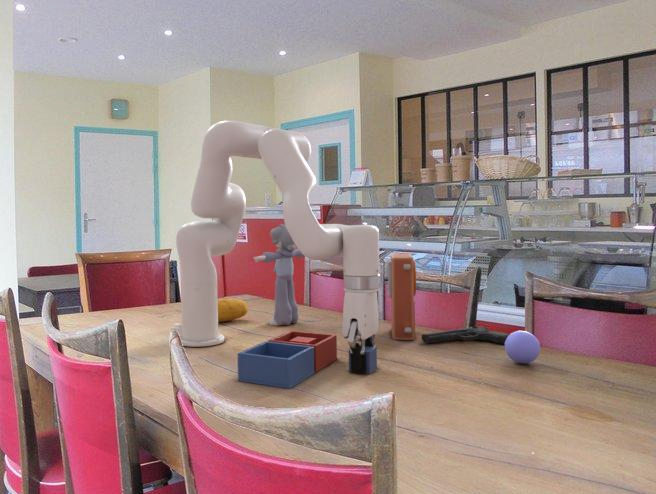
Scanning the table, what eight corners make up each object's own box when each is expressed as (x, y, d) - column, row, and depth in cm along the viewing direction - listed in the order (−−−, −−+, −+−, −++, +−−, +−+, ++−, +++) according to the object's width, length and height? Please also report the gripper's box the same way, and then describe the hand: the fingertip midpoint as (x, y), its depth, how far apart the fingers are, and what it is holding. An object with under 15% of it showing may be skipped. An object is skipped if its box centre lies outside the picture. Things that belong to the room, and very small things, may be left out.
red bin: (267, 365, 127) (267, 340, 127) (291, 353, 137) (290, 330, 137) (316, 372, 121) (315, 345, 121) (337, 359, 131) (336, 334, 131)
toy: (299, 314, 188) (297, 222, 188) (320, 316, 184) (319, 222, 183) (244, 330, 164) (242, 225, 164) (267, 334, 159) (265, 225, 159)
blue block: (348, 371, 121) (348, 349, 121) (356, 366, 125) (356, 345, 125) (370, 374, 119) (369, 352, 119) (377, 368, 123) (376, 347, 123)
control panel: (413, 329, 162) (417, 341, 147) (388, 328, 163) (389, 340, 148) (412, 253, 161) (416, 257, 147) (387, 253, 163) (388, 257, 148)
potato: (202, 320, 181) (202, 299, 181) (244, 317, 185) (244, 296, 185) (208, 325, 174) (208, 302, 173) (252, 321, 178) (251, 299, 178)
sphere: (505, 366, 123) (505, 333, 123) (503, 358, 129) (503, 327, 129) (542, 368, 120) (541, 335, 120) (538, 360, 127) (538, 328, 127)
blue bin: (238, 380, 116) (237, 353, 116) (265, 366, 126) (265, 341, 126) (289, 388, 110) (289, 359, 110) (314, 373, 120) (314, 346, 120)
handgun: (453, 355, 136) (419, 342, 147) (515, 344, 143) (478, 333, 154) (453, 343, 135) (419, 331, 146) (515, 333, 143) (478, 322, 154)
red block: (289, 361, 128) (288, 340, 128) (298, 356, 132) (297, 336, 132) (308, 363, 126) (307, 342, 126) (316, 358, 130) (316, 338, 130)
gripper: (358, 278, 131) (359, 358, 131) (329, 287, 116) (331, 377, 117) (390, 279, 127) (392, 361, 127) (365, 289, 113) (366, 382, 113)
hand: (363, 368), depth 122 cm, fingers closed on blue block, 4 cm apart
